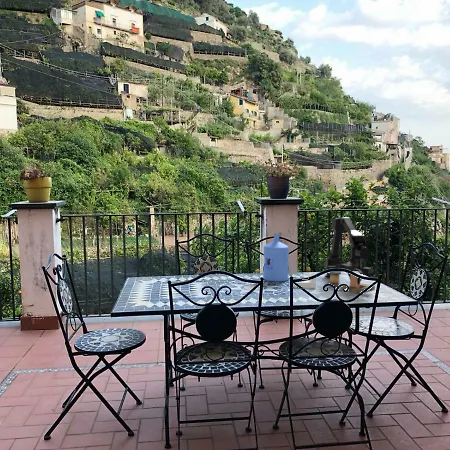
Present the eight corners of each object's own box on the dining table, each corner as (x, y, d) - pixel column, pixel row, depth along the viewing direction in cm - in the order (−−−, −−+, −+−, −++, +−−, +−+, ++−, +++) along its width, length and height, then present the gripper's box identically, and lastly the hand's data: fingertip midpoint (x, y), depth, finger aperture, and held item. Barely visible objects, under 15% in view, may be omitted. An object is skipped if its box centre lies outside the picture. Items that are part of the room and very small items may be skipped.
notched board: (340, 289, 243) (340, 286, 243) (356, 285, 254) (356, 282, 254) (358, 293, 235) (358, 290, 234) (374, 289, 246) (374, 285, 246)
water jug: (285, 276, 278) (286, 233, 275) (290, 282, 262) (291, 236, 260) (261, 276, 277) (262, 233, 274) (265, 282, 261) (266, 236, 259)
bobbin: (326, 284, 255) (326, 271, 254) (332, 283, 260) (333, 270, 259) (336, 287, 250) (336, 273, 249) (342, 285, 255) (343, 272, 254)
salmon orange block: (349, 286, 246) (350, 273, 245) (353, 285, 249) (354, 272, 248) (356, 288, 243) (356, 274, 242) (359, 287, 246) (360, 273, 245)
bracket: (312, 285, 254) (313, 273, 254) (315, 288, 247) (316, 275, 247) (290, 285, 254) (291, 273, 253) (293, 288, 247) (293, 275, 246)
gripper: (333, 255, 246) (333, 282, 247) (363, 260, 232) (362, 288, 233) (344, 254, 253) (343, 280, 255) (374, 258, 239) (372, 285, 241)
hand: (355, 283), depth 246 cm, fingers closed on salmon orange block, 4 cm apart
